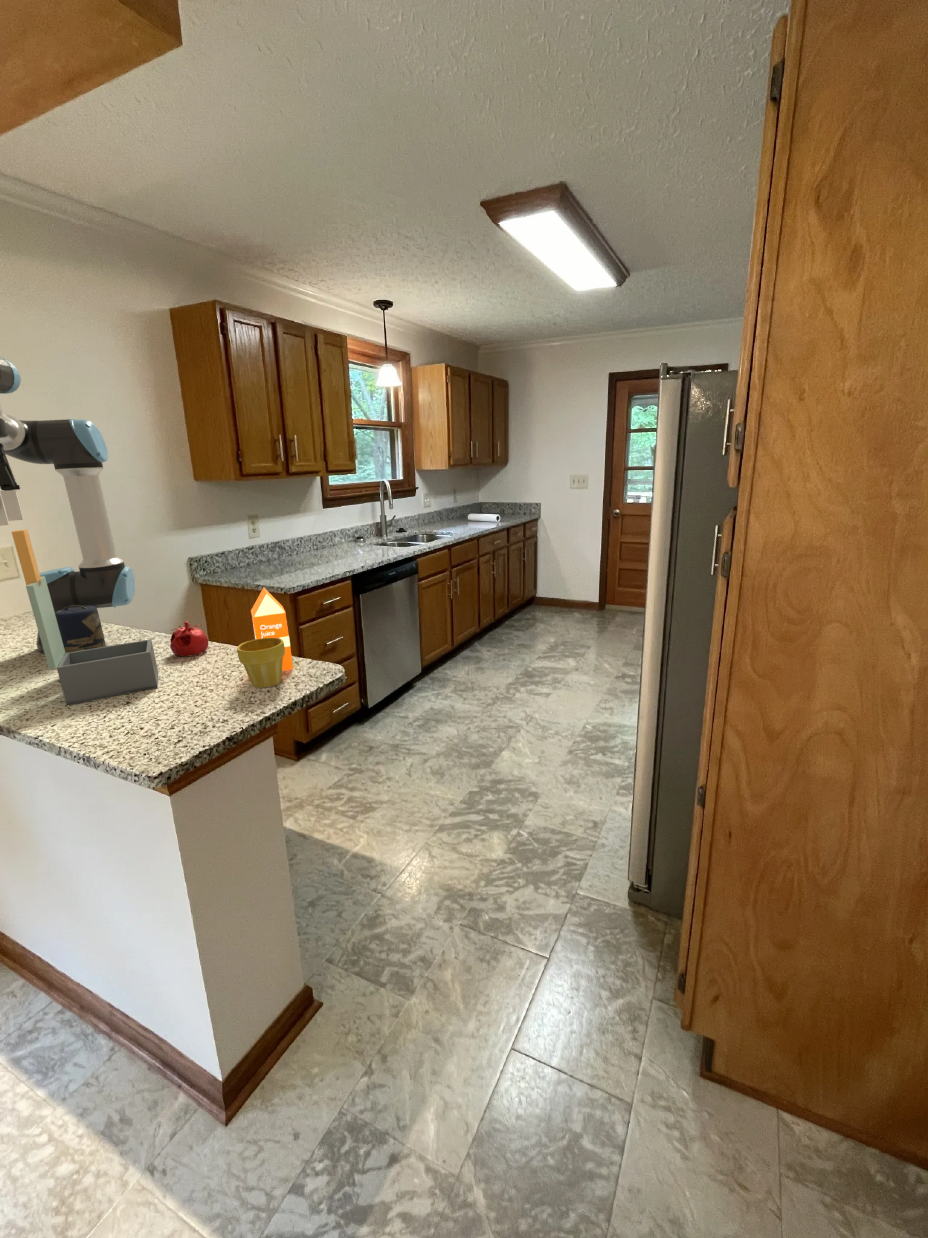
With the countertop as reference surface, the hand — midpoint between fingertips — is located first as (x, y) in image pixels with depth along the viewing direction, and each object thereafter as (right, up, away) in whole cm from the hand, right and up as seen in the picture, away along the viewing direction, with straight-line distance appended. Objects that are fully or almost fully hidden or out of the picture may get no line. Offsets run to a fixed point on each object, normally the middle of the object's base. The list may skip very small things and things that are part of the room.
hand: (8, 522), depth 119 cm
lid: (+5, -16, +4) cm, 17 cm away
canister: (-1, -34, +27) cm, 44 cm away
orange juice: (+49, -33, +24) cm, 64 cm away
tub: (+14, -37, +14) cm, 42 cm away
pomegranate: (+20, -30, +38) cm, 53 cm away
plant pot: (+51, -36, +12) cm, 63 cm away
